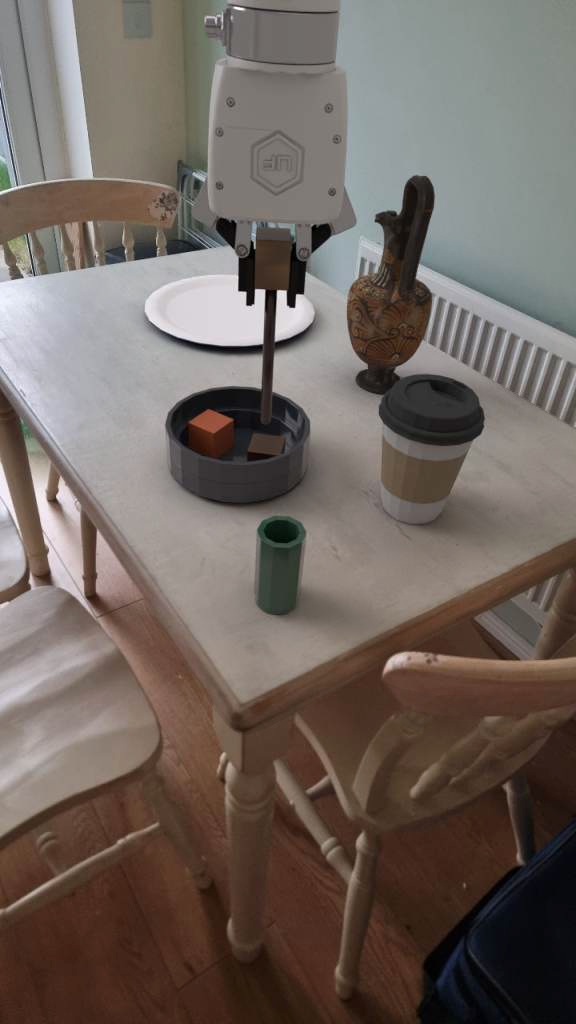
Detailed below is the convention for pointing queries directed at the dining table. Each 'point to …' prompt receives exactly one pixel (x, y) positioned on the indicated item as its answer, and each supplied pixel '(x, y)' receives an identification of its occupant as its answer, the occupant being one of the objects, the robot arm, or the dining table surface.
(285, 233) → the wooden cube mallet
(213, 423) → the terracotta block
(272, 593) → the holder
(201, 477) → the bowl
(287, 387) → the dining table surface
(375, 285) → the vase
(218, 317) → the plate
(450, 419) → the coffee cup
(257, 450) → the walnut block
